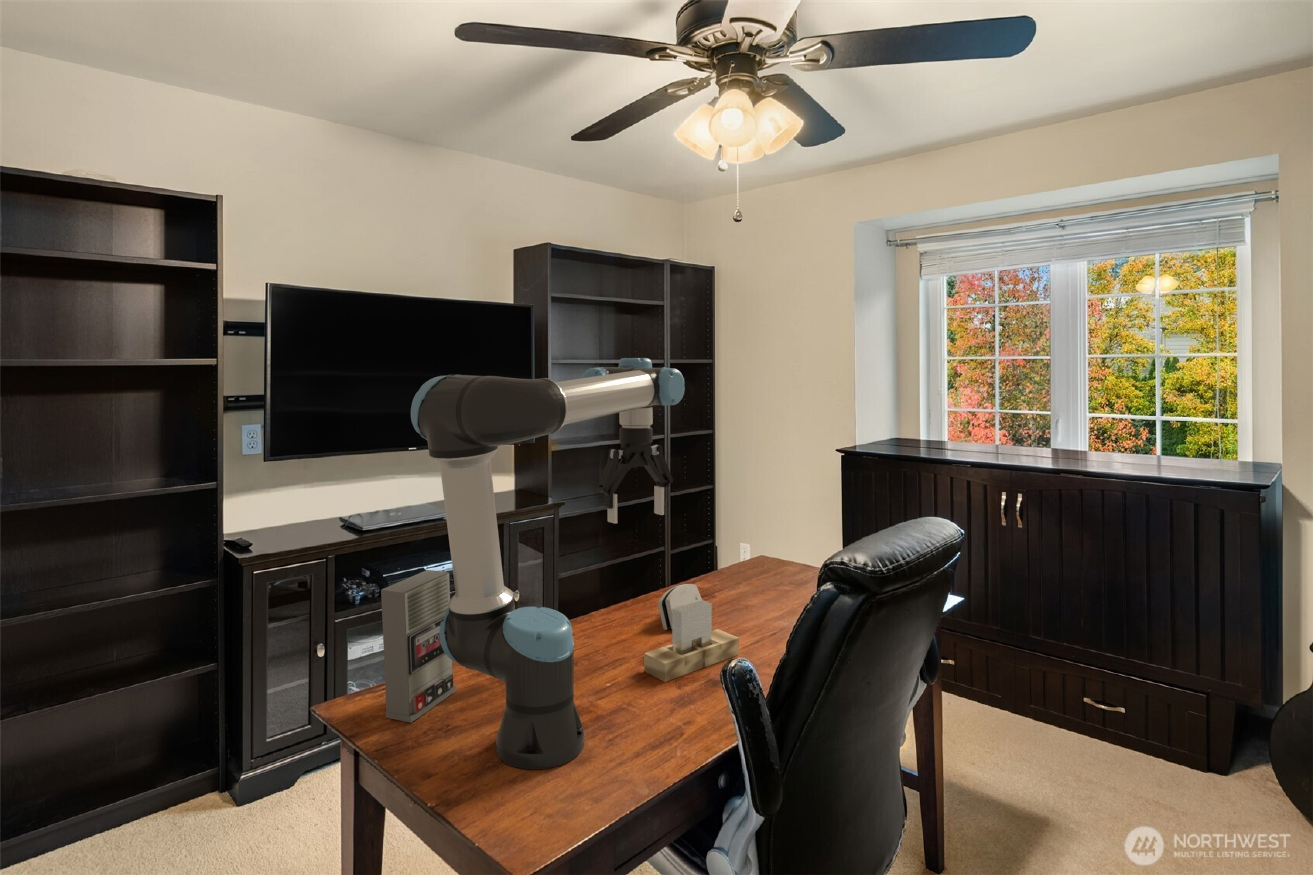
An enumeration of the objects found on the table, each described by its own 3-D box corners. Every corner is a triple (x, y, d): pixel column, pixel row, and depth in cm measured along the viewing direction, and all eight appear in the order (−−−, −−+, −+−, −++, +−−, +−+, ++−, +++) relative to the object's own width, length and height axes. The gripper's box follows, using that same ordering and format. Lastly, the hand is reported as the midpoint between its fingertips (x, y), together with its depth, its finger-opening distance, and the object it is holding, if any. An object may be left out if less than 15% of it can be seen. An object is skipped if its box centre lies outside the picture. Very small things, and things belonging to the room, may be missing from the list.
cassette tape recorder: (412, 724, 135) (407, 593, 132) (385, 718, 137) (379, 589, 134) (457, 692, 148) (453, 572, 145) (432, 687, 150) (427, 569, 147)
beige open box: (665, 681, 152) (665, 663, 152) (644, 670, 158) (644, 653, 157) (738, 654, 166) (738, 637, 166) (717, 645, 172) (717, 628, 171)
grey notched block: (681, 670, 158) (681, 612, 157) (672, 665, 160) (672, 608, 159) (711, 659, 164) (711, 603, 162) (702, 655, 166) (702, 599, 165)
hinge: (680, 633, 179) (668, 594, 180) (665, 636, 182) (653, 597, 182) (710, 612, 194) (699, 576, 194) (695, 615, 196) (684, 579, 197)
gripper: (667, 421, 176) (667, 508, 178) (580, 428, 160) (582, 523, 163) (688, 424, 170) (687, 513, 173) (600, 431, 155) (601, 529, 157)
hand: (636, 518), depth 168 cm, fingers open, 13 cm apart
